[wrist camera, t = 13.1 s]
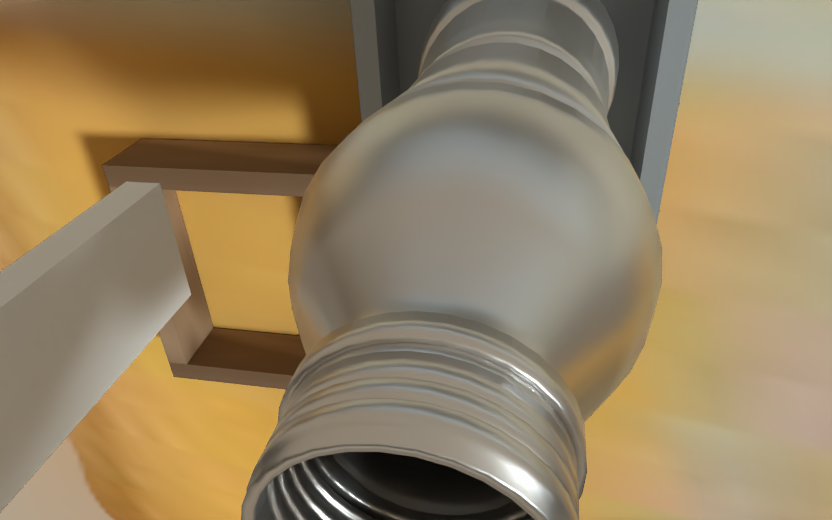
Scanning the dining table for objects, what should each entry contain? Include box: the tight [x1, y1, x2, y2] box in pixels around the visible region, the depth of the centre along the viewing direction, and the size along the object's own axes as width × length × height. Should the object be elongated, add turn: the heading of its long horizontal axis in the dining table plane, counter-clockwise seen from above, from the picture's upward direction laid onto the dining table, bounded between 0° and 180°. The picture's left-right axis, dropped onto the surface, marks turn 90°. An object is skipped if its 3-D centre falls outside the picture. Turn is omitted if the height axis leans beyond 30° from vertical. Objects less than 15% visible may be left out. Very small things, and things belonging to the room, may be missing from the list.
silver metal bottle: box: [241, 0, 662, 520], centre depth 15 cm, size 6×7×20 cm
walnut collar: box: [102, 139, 338, 389], centre depth 30 cm, size 12×11×3 cm
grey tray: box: [350, 0, 698, 224], centre depth 22 cm, size 12×11×4 cm
